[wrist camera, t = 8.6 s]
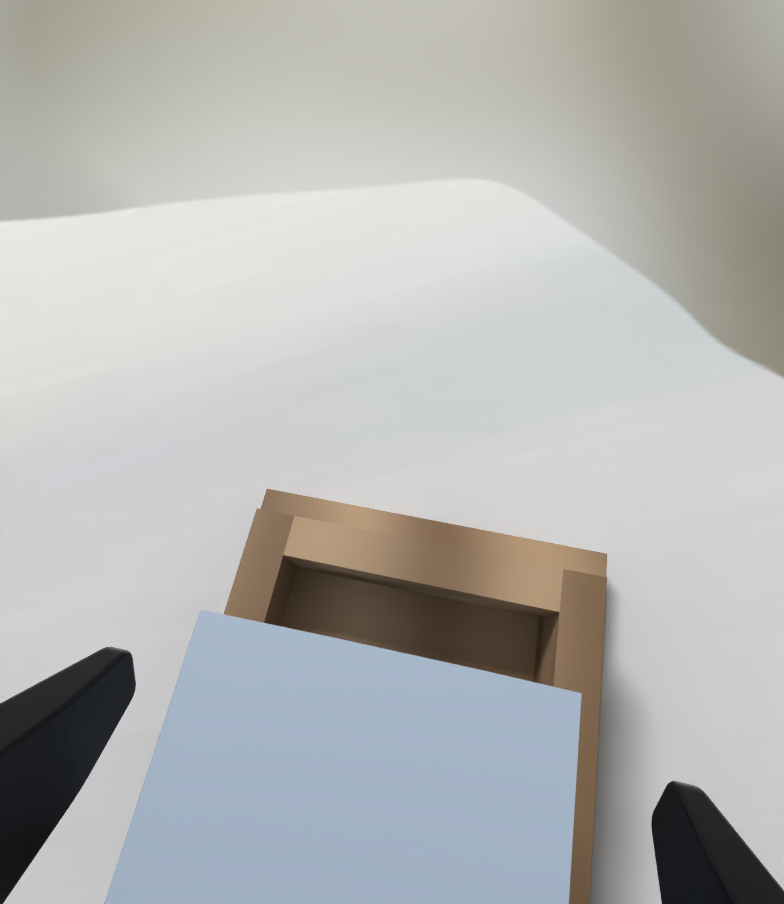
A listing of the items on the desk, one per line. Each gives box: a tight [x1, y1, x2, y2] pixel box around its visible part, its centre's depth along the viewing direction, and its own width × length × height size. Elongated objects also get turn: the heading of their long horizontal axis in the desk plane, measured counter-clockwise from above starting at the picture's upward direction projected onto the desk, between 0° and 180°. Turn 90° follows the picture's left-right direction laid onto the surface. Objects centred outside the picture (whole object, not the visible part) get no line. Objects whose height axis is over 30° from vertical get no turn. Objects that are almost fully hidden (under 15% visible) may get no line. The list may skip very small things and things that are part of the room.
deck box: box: [104, 610, 582, 904], centre depth 10 cm, size 5×5×11 cm
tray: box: [224, 489, 607, 904], centre depth 14 cm, size 12×14×4 cm
